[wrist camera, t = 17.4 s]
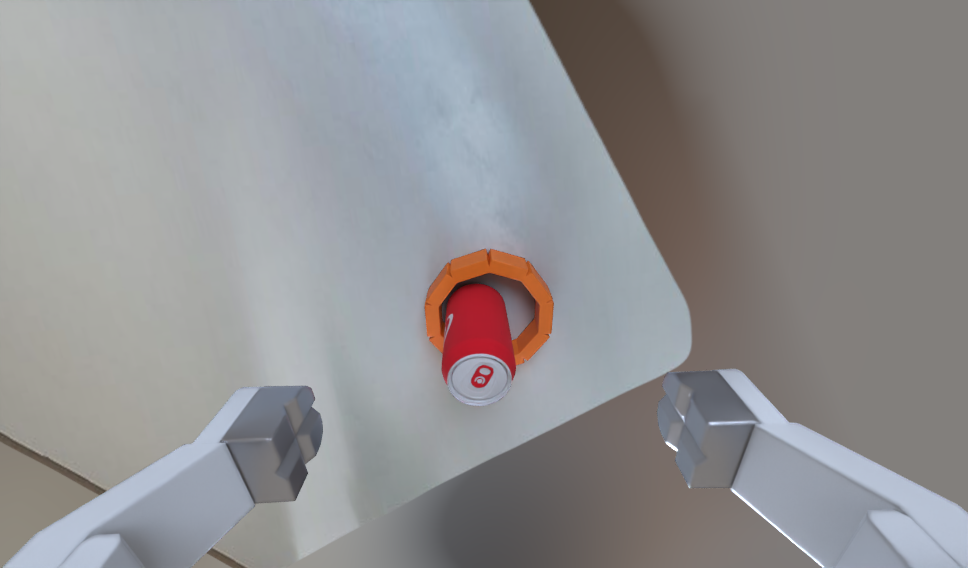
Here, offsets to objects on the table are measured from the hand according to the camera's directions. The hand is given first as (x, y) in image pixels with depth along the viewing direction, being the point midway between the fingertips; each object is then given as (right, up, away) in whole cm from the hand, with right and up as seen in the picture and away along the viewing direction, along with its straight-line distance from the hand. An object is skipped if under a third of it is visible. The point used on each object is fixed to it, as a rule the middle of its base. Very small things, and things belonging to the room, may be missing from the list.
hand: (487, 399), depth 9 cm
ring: (0, 0, +33) cm, 33 cm away
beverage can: (-1, 0, +33) cm, 33 cm away
